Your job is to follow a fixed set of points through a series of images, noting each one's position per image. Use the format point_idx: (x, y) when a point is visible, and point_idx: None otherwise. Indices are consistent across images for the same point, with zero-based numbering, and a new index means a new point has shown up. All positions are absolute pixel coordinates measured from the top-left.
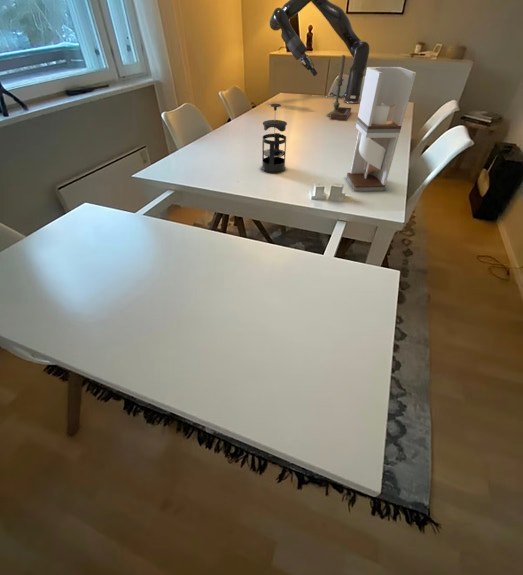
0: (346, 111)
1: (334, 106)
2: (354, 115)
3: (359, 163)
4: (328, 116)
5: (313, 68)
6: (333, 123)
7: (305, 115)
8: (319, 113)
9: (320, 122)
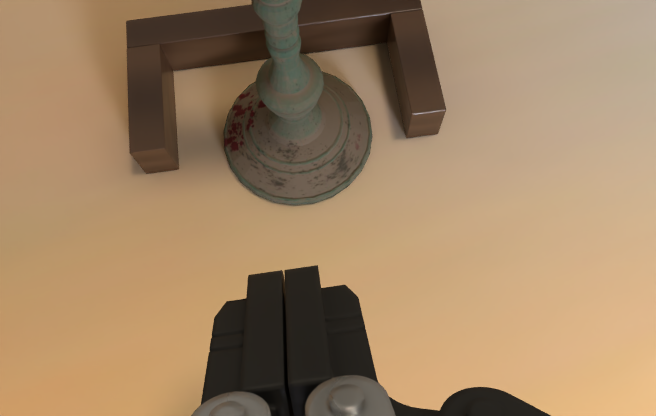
0: None
1: (315, 104)
2: (198, 5)
3: None
4: (353, 179)
5: (328, 368)
6: (550, 73)
7: None
8: None
9: (591, 176)
